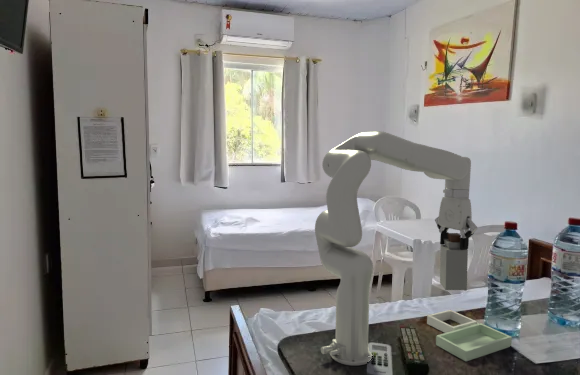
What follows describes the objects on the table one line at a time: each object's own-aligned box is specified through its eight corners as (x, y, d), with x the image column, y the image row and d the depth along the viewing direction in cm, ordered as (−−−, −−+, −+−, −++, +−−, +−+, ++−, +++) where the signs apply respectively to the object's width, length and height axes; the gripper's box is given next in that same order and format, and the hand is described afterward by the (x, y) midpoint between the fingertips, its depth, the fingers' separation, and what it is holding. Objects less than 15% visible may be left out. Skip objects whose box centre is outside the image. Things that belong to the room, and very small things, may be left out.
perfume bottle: (460, 282, 141) (461, 231, 139) (466, 290, 134) (468, 236, 132) (439, 282, 142) (440, 231, 140) (445, 290, 135) (446, 236, 133)
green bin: (465, 361, 117) (466, 351, 116) (435, 344, 127) (436, 335, 126) (511, 346, 126) (511, 336, 125) (480, 331, 136) (480, 323, 135)
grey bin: (452, 336, 132) (453, 328, 132) (427, 323, 142) (427, 315, 141) (476, 330, 137) (476, 321, 137) (449, 317, 147) (450, 309, 146)
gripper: (428, 191, 141) (425, 242, 142) (471, 197, 125) (467, 254, 127) (444, 191, 144) (441, 240, 146) (487, 196, 129) (484, 251, 130)
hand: (453, 246), depth 136 cm, fingers closed on perfume bottle, 7 cm apart
